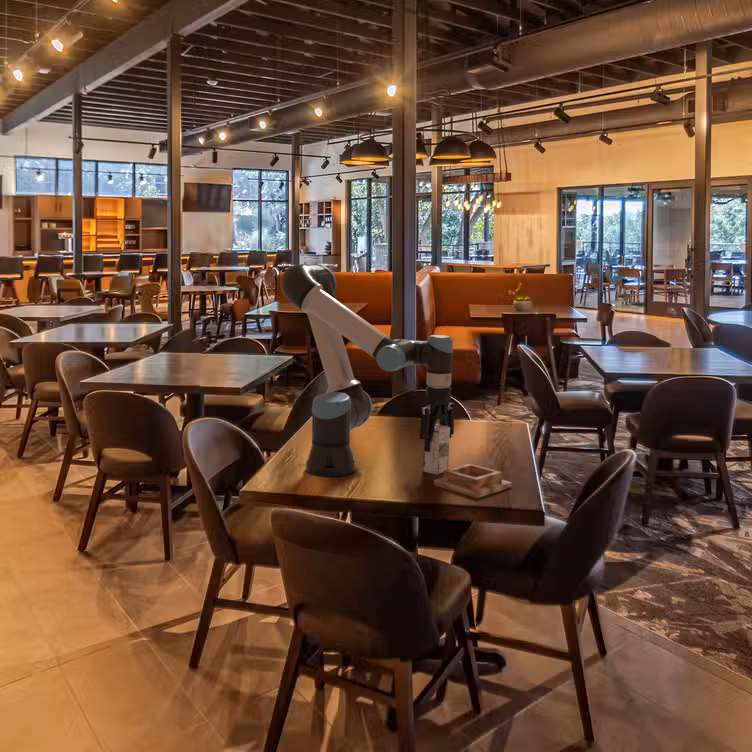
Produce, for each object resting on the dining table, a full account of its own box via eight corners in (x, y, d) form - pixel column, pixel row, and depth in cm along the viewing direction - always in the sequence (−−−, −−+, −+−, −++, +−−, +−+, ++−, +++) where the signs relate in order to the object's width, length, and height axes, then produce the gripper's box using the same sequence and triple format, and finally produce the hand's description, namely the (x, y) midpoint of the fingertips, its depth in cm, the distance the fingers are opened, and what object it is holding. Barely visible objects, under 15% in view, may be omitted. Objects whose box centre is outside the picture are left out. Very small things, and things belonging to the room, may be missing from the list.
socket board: (476, 498, 222) (477, 482, 222) (433, 485, 233) (434, 470, 233) (511, 487, 233) (511, 472, 233) (468, 475, 245) (469, 460, 244)
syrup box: (433, 468, 251) (434, 423, 249) (448, 471, 248) (450, 426, 245) (422, 471, 247) (424, 425, 245) (438, 475, 243) (439, 429, 241)
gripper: (427, 391, 234) (424, 467, 238) (468, 384, 247) (464, 457, 251) (408, 387, 239) (406, 462, 243) (449, 381, 252) (446, 452, 256)
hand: (435, 459), depth 247 cm, fingers closed on syrup box, 6 cm apart
